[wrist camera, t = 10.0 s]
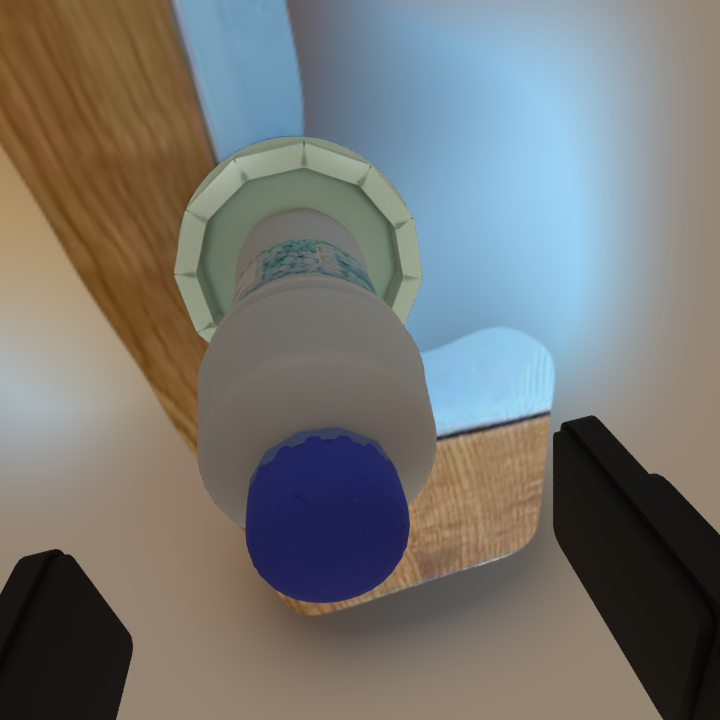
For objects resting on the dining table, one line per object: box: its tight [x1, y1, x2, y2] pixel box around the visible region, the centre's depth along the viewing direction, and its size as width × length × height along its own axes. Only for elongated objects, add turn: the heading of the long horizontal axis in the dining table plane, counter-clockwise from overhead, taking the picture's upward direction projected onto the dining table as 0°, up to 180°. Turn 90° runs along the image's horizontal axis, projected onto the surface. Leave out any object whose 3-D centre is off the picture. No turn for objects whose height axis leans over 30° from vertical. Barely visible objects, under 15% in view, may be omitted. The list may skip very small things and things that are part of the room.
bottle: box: [197, 208, 437, 603], centre depth 18 cm, size 7×7×20 cm
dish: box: [174, 136, 423, 343], centre depth 27 cm, size 13×13×2 cm
